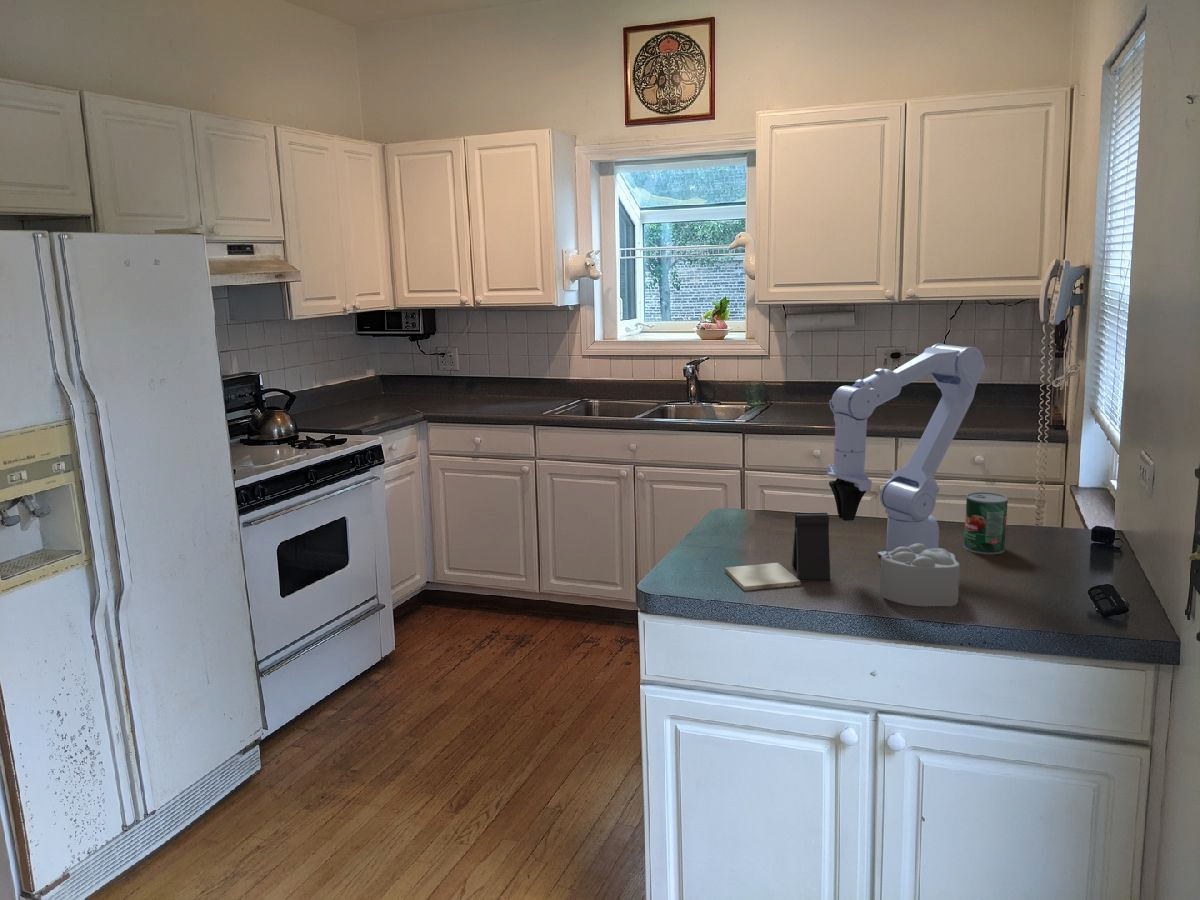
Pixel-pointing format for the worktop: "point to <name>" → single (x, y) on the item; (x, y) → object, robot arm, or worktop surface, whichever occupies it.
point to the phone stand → (811, 547)
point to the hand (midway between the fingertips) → (846, 518)
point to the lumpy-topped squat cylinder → (920, 576)
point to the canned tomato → (985, 523)
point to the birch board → (761, 576)
